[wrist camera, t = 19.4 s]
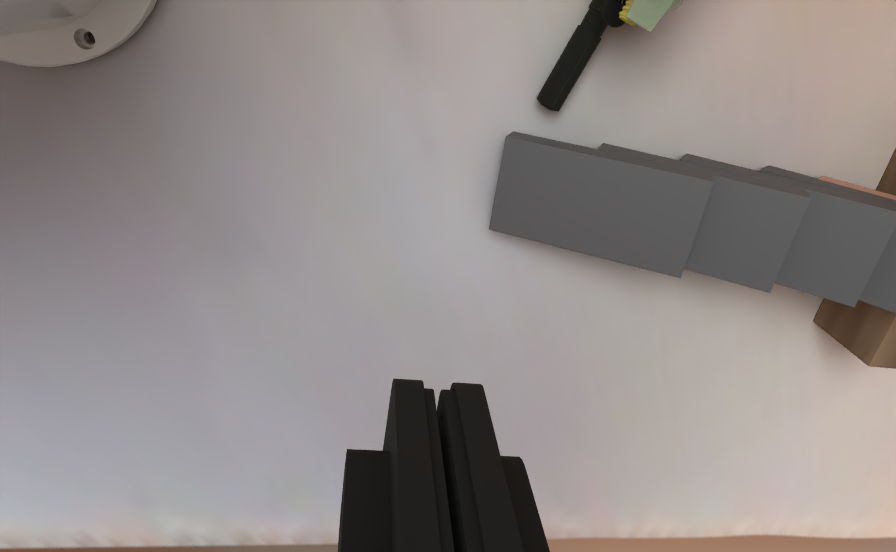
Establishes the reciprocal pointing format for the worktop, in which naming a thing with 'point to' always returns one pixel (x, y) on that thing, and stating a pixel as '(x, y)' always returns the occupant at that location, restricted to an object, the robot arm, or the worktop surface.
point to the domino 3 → (828, 238)
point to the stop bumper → (864, 313)
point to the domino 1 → (599, 202)
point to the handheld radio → (597, 41)
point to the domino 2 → (740, 225)
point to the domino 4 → (892, 276)
